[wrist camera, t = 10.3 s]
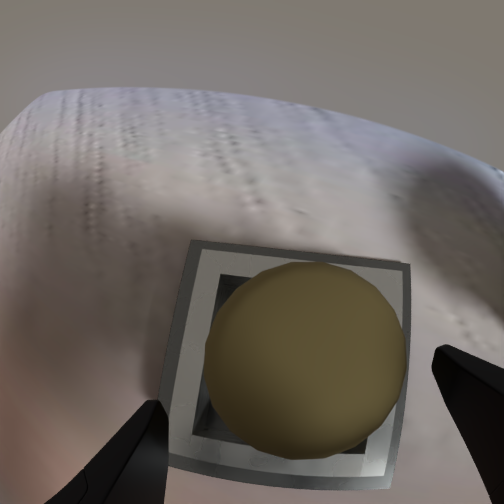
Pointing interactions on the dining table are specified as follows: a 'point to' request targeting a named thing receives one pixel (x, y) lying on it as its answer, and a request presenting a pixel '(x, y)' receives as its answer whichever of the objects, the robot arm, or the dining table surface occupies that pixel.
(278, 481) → the steel collar socket
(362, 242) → the dining table surface
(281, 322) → the olive knobbed peg
